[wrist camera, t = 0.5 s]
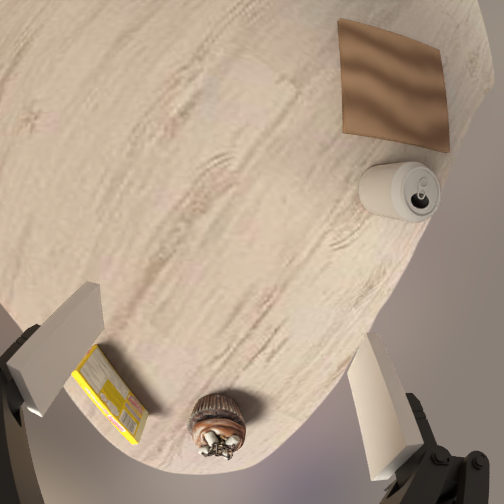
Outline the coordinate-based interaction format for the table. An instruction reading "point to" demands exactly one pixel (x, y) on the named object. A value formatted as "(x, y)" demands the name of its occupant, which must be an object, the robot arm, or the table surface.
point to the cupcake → (217, 426)
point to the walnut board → (392, 87)
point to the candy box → (111, 394)
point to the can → (400, 191)
